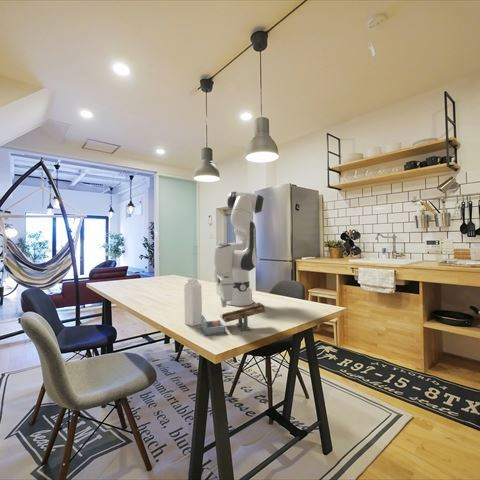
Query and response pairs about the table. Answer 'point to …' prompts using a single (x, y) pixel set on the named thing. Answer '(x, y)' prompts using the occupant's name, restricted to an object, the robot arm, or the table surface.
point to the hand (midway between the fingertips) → (223, 306)
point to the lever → (243, 313)
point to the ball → (215, 324)
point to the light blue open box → (209, 329)
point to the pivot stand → (243, 324)
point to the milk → (193, 302)
